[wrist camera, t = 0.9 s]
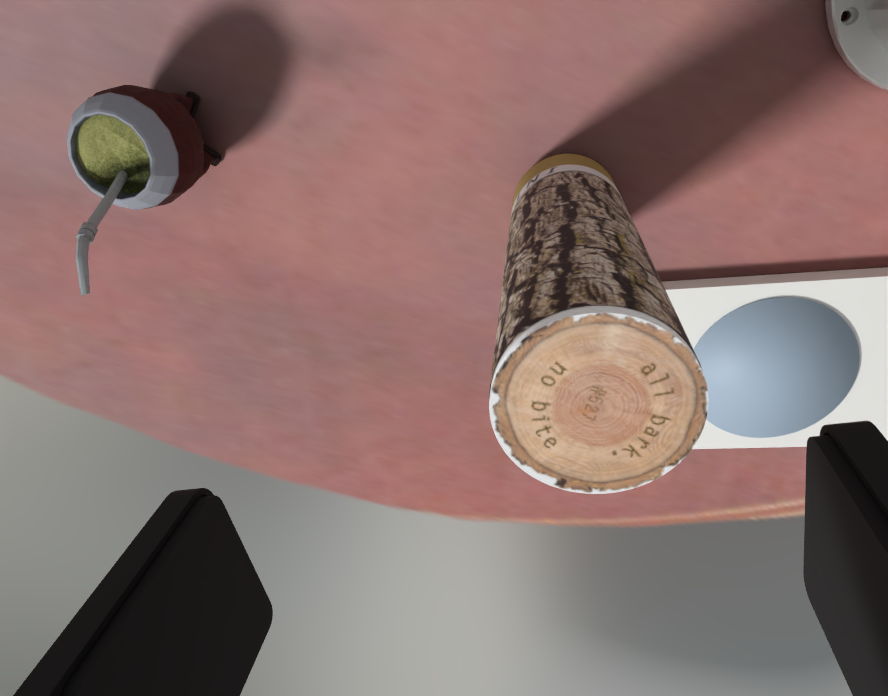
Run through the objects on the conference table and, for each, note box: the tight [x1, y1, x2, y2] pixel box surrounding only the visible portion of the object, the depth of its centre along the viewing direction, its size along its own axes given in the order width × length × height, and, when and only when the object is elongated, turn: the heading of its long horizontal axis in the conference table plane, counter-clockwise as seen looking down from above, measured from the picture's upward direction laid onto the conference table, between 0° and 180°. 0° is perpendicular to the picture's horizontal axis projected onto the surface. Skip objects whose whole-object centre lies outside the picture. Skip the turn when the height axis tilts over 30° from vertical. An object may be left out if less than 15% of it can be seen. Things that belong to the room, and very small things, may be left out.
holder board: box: [662, 267, 888, 449], centre depth 45 cm, size 20×13×2 cm, turn 97°
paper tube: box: [489, 154, 709, 494], centre depth 31 cm, size 7×7×25 cm
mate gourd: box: [67, 85, 221, 296], centre depth 37 cm, size 8×8×15 cm
